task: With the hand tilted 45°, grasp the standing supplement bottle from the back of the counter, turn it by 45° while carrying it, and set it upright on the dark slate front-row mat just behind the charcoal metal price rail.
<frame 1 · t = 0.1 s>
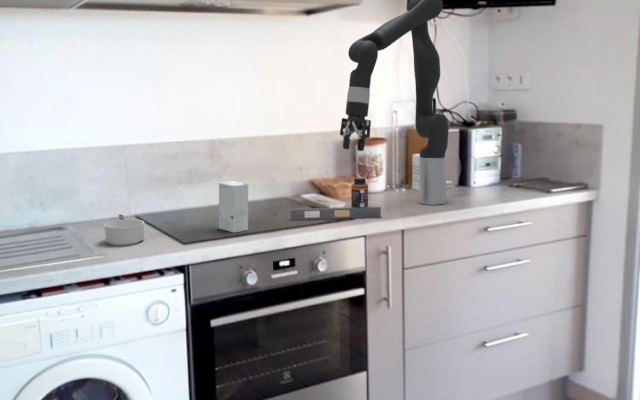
hand: (352, 149, 216), 22 cm above the worktop, tool pointing down, fingers open, 8 cm apart
price rail: (335, 218, 214), on the worktop
front row mat: (337, 215, 219), on the worktop
saucepan: (124, 239, 190), on the worktop
supplement bottle: (359, 209, 229), on the worktop
skincare box: (234, 230, 200), on the worktop
supplement box: (426, 190, 269), on the worktop
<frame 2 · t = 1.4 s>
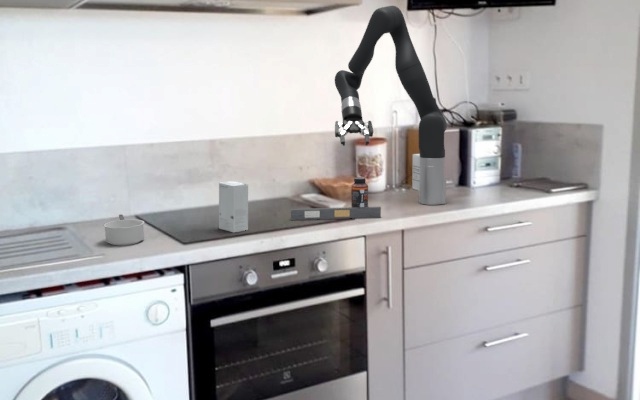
hand: (355, 144, 236), 22 cm above the worktop, tool tilted 45°, fingers open, 8 cm apart
nothing on the worktop moved.
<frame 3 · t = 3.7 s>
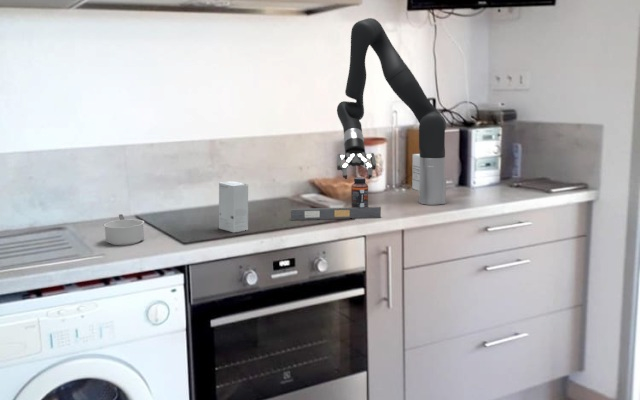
hand: (357, 177, 232), 11 cm above the worktop, tool tilted 45°, fingers open, 8 cm apart
nothing on the worktop moved.
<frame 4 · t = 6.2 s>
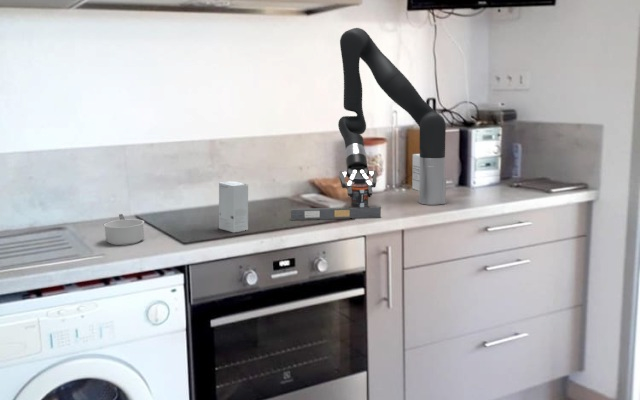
hand: (360, 195, 227), 5 cm above the worktop, tool tilted 45°, fingers closed on supplement bottle, 6 cm apart
supplement bottle: (359, 209, 229), on the worktop, touching gripper
everything else where it was.
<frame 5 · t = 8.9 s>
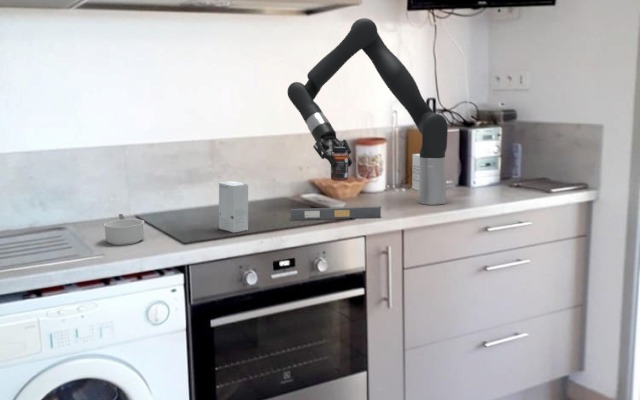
hand: (343, 165, 217), 17 cm above the worktop, tool tilted 45°, fingers closed on supplement bottle, 6 cm apart
supplement bottle: (339, 180, 220), point 12 cm above the worktop, touching gripper
everything else where it was.
when the fingers open (7 cm above the worktop, at t = 11.9 s): supplement bottle drops 1 cm, resting on front row mat.
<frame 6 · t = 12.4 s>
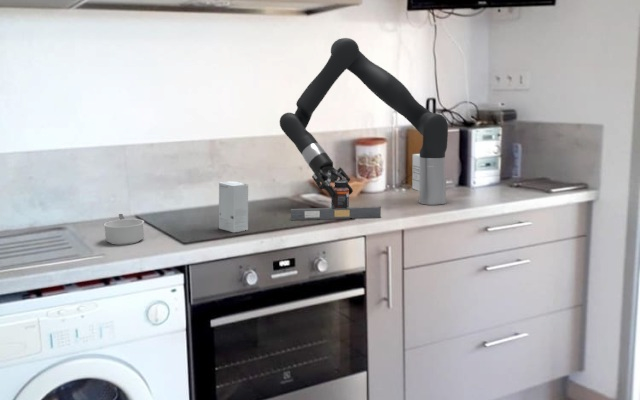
hand: (343, 194, 217), 7 cm above the worktop, tool tilted 45°, fingers open, 8 cm apart
supplement bottle: (339, 214, 219), resting on front row mat
everything else where it was.
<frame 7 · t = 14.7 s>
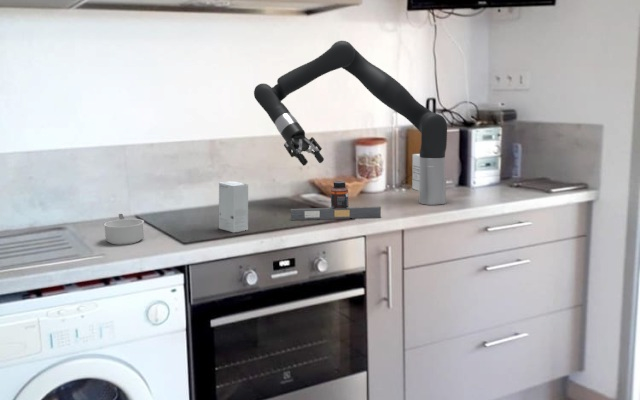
hand: (314, 162, 223), 17 cm above the worktop, tool tilted 45°, fingers open, 8 cm apart
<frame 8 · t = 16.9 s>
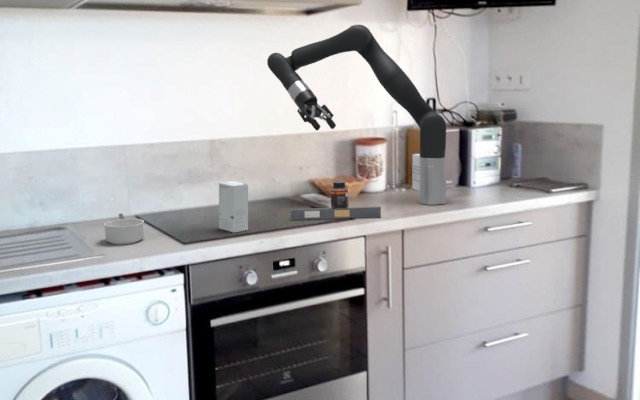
hand: (326, 128, 230), 29 cm above the worktop, tool tilted 45°, fingers open, 8 cm apart
at the end: supplement bottle inside the target area (0.3 cm from its centre), resting on front row mat; supplement bottle tilted 0°; the gripper is holding nothing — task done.
